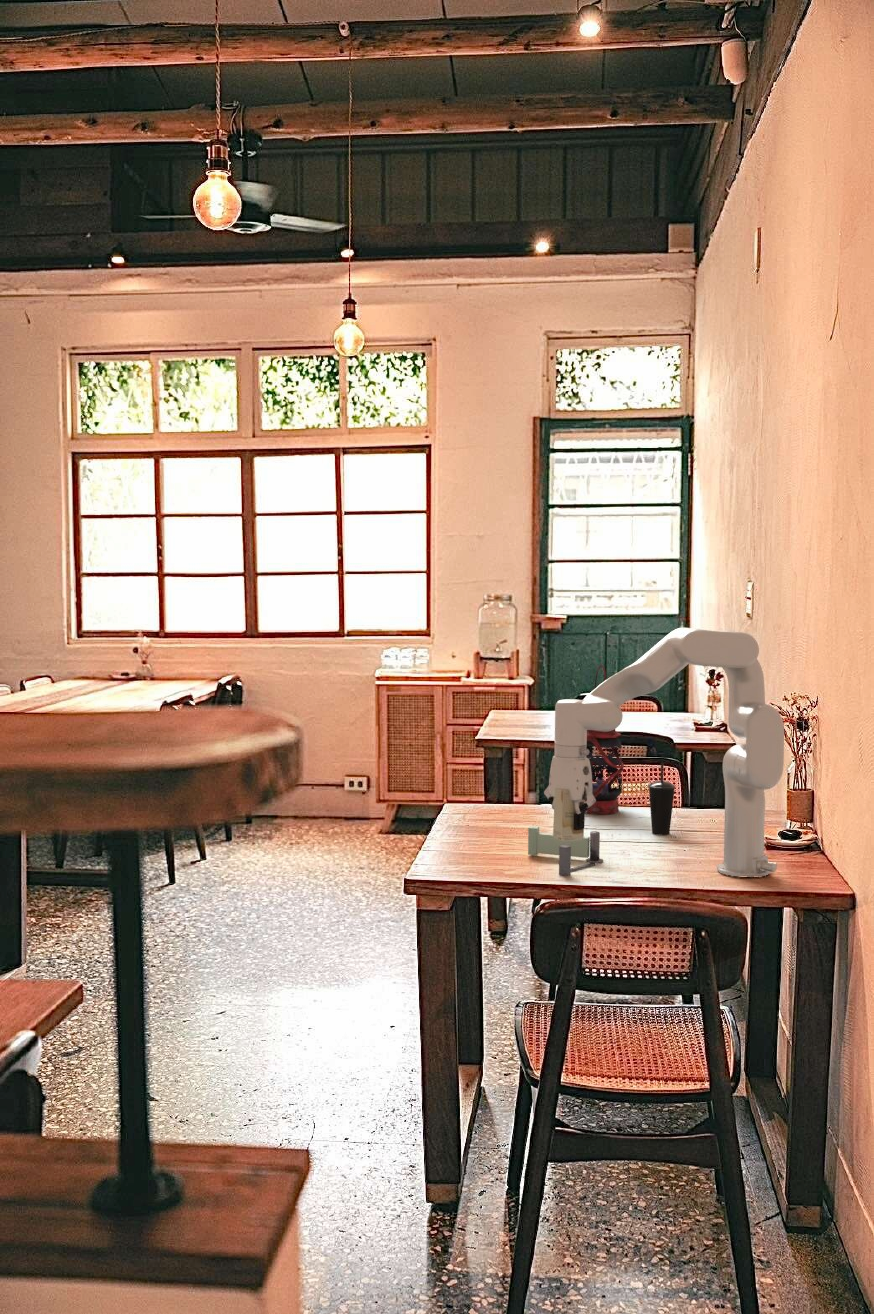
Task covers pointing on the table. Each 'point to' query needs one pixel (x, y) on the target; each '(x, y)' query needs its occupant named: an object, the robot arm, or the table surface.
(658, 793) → the drinking cup
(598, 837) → the dark grey rounded knob
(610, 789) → the lantern
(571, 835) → the skincare box
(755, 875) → the robot arm
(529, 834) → the gate
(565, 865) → the latch post
